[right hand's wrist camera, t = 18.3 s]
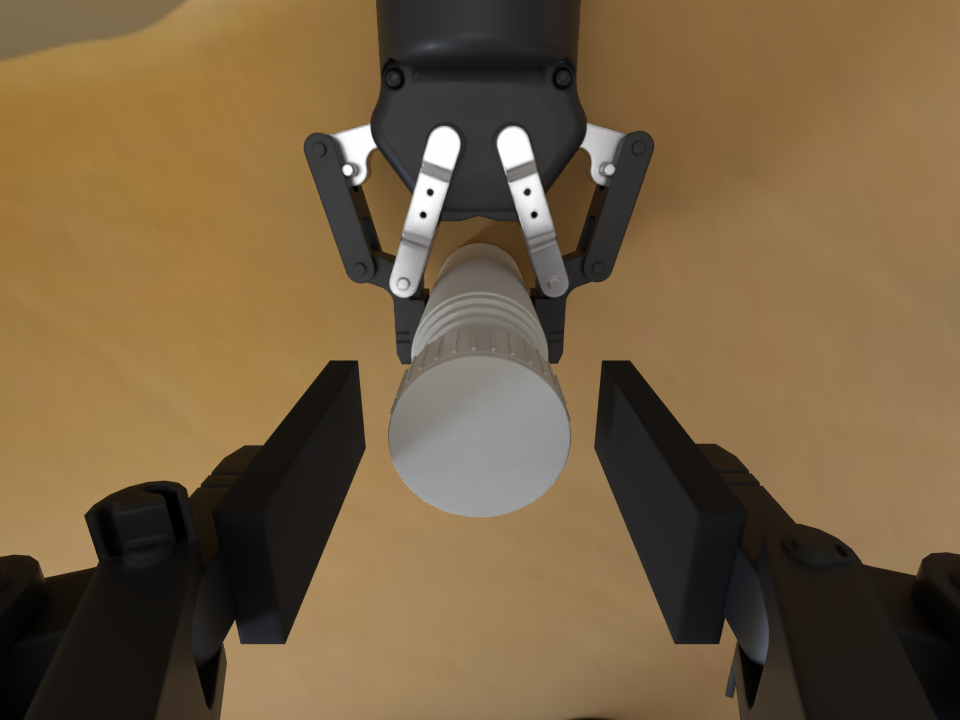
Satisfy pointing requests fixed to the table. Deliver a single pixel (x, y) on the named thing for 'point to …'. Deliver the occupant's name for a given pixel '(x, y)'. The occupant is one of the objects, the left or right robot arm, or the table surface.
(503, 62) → the left robot arm
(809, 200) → the table surface
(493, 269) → the bottle
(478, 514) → the cap
